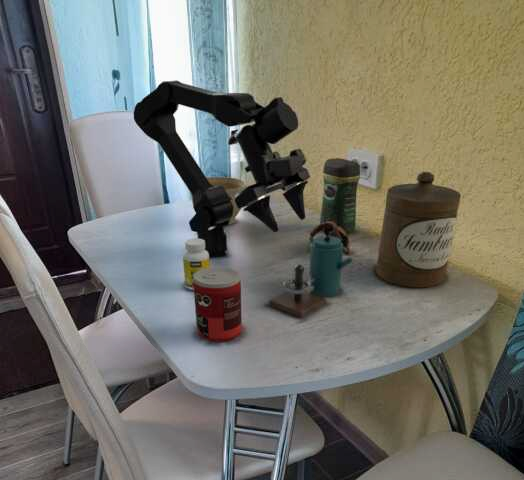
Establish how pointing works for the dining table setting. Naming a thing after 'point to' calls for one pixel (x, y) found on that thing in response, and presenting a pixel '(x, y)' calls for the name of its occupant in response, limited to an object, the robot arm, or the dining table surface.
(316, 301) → the wooden peg stand
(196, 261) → the supplement bottle
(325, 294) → the kettle
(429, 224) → the wooden container
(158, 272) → the dining table surface
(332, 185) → the coffee jar
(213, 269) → the canned food
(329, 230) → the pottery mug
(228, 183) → the planter bowl
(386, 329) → the dining table surface
